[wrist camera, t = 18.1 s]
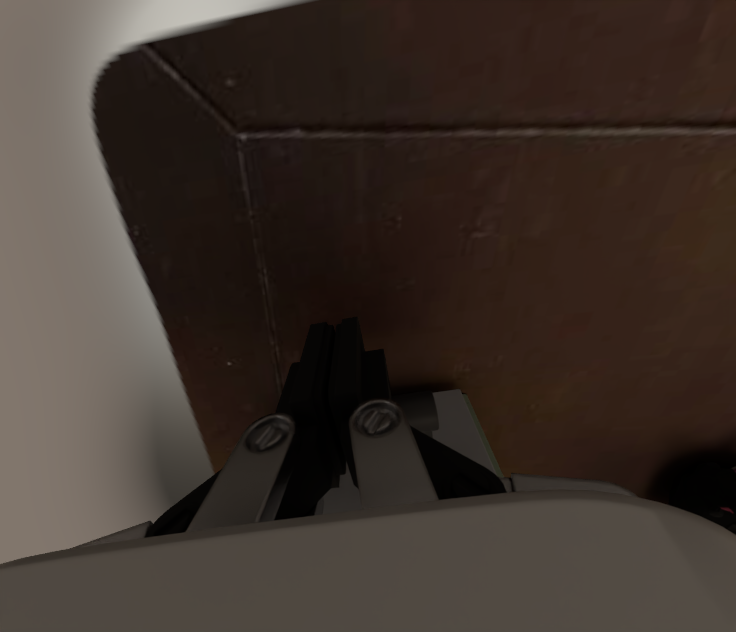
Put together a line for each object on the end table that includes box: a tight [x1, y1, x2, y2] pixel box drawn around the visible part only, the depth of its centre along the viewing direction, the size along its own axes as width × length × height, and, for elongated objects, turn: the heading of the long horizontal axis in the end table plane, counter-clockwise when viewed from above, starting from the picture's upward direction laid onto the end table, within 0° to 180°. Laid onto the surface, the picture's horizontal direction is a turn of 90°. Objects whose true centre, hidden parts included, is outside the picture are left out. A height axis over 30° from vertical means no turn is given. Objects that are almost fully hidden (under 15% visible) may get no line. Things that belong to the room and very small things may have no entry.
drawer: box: [322, 389, 498, 514], centre depth 16 cm, size 18×10×8 cm, turn 9°
